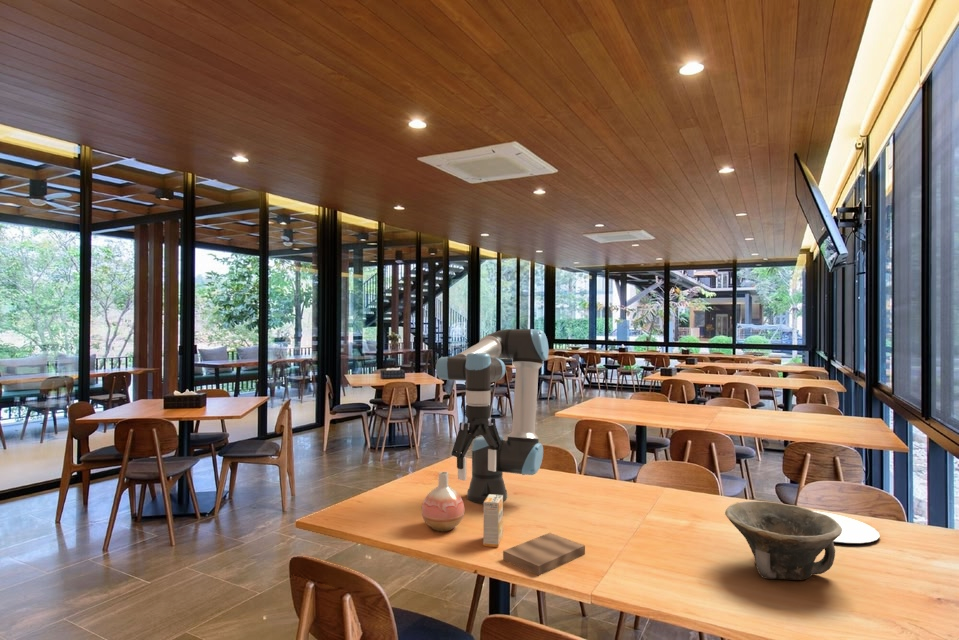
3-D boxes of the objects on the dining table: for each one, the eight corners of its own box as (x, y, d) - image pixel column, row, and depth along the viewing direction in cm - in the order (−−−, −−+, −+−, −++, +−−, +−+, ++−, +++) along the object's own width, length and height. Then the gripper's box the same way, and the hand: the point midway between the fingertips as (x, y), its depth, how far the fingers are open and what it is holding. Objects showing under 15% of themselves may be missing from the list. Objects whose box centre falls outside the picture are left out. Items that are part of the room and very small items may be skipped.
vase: (431, 539, 165) (431, 480, 165) (415, 524, 177) (415, 470, 177) (471, 531, 171) (472, 475, 171) (453, 518, 183) (453, 465, 183)
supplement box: (499, 547, 158) (499, 502, 158) (482, 546, 159) (483, 501, 159) (503, 537, 166) (503, 494, 166) (488, 536, 167) (488, 493, 167)
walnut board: (549, 541, 164) (549, 532, 164) (585, 554, 154) (585, 545, 154) (503, 559, 150) (503, 550, 150) (538, 575, 140) (538, 566, 140)
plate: (868, 522, 182) (867, 517, 182) (891, 554, 156) (891, 548, 156) (769, 509, 194) (769, 504, 194) (776, 537, 168) (776, 532, 168)
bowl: (793, 606, 125) (793, 541, 126) (704, 561, 150) (704, 507, 150) (866, 585, 136) (866, 525, 136) (772, 546, 160) (772, 495, 161)
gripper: (494, 399, 175) (494, 465, 175) (439, 407, 156) (439, 481, 156) (513, 401, 170) (512, 469, 170) (458, 409, 151) (457, 486, 151)
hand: (477, 475), depth 163 cm, fingers open, 13 cm apart
